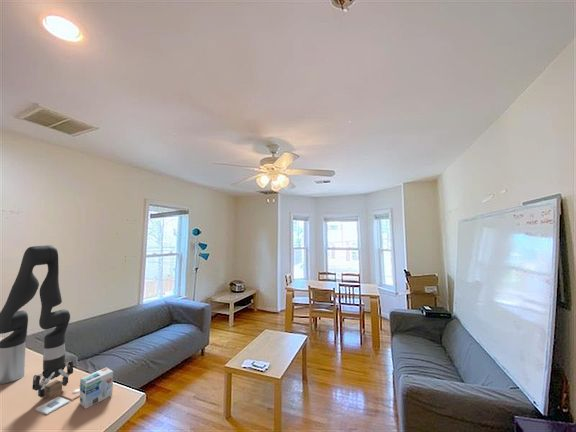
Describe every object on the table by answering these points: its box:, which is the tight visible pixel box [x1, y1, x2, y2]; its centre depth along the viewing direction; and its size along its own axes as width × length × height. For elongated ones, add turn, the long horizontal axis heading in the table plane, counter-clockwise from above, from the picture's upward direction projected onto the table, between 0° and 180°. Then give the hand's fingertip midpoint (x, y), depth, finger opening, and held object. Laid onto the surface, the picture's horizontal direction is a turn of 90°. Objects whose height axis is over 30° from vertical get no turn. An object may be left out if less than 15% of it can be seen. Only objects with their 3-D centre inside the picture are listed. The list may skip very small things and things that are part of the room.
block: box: [43, 379, 63, 400], centre depth 116 cm, size 4×4×5 cm
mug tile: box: [60, 384, 80, 401], centre depth 117 cm, size 8×8×1 cm
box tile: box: [35, 395, 71, 415], centre depth 109 cm, size 8×8×1 cm
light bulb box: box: [79, 366, 114, 409], centre depth 113 cm, size 11×7×11 cm, turn 148°
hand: (53, 391), depth 116 cm, fingers open, 8 cm apart
